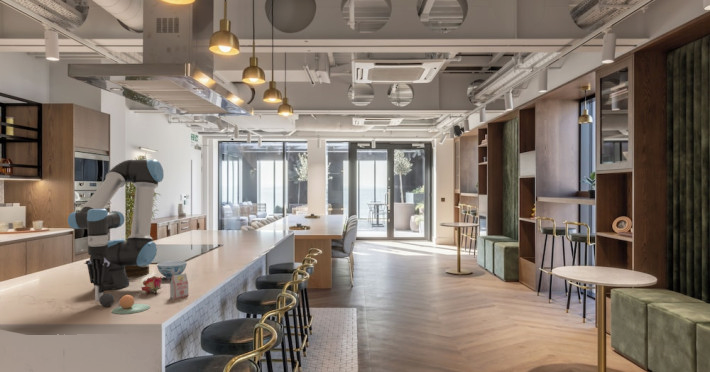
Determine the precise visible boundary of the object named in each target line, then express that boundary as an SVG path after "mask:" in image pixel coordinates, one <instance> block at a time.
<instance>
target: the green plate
mask: <svg viewBox="0 0 710 372" xmlns="http://www.w3.org/2000/svg"><path fill="white" fill-rule="evenodd" d="M150 308H151V306H150V305H149V304H147V303H146V304H145V303H134V304H133V306H132V307H130V308H128V309H125V308H122V307H121V306H119V307H118V306H117V307H116V308H113V309H112V310H111V313H112V314H115V315H131V314H137V313H142V312H144V311H146V310H148V309H150Z"/></svg>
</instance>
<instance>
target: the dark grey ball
mask: <svg viewBox="0 0 710 372" xmlns="http://www.w3.org/2000/svg"><path fill="white" fill-rule="evenodd" d="M98 302H99V304H100V305H101V306H103V307H109V306H112V304H113V303H114V302H115V296H114V295H113V294H112V293H111V292H105V293H103V295H102V296H101V297H100V300H99V301H98Z"/></svg>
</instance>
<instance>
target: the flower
mask: <svg viewBox="0 0 710 372" xmlns="http://www.w3.org/2000/svg"><path fill="white" fill-rule="evenodd" d="M161 283H162V277H161V276H156V275H153V276H151V277H148V278H147V279H146V280H143V281H142V285H143V286H141V291H144V292H145V293H147V294H150V293H153V292H154V294H158V291H159V290H161V289H162V288H163V286H162V287H161V285H162V284H161Z"/></svg>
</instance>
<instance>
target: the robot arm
mask: <svg viewBox="0 0 710 372" xmlns="http://www.w3.org/2000/svg"><path fill="white" fill-rule="evenodd" d="M163 179H164V169H163V166H162V164H161V162H160V161H159V160H158V159H150V158H148V159H127V160H124V161H121V162H119V163H118V164H116V165H115V166H113V167H112V168H111V169H109V171H108V172H107V173H106V174H105V180H103V182H101V184H100V186H99V187H97V189H96V191H94V193H93V194H92V195H91V196H90V197H89V199H88V200H87V201H86V203H85V204H84V205H83V206H82V207H81V208H80V210H79V211H75V212H74V211H73V212H71V213H70V214H68V216H67V217H68V218H67V224H68V226H69V227H70V228H71V229H74V230H87V245H88V247H87V255H89V256H90V257H89V260H86V261H85V265H86V266H87V270H88V276H89V280H90V281H89V282H90V283H91V284H93V286H94V300H95V301H96V302H100V301H99V300H100V297H101V296H102V295H103V294H104V291H112V290H118V289H122V288H127V287H128V286H129V285H130V278H129V277H128V276H127V274H126V271H125V266H143V265H149V266H150V264H152V263H153V261H154V260H155V258H156V256H157V251H158V247H157V244H156V242H154V241H153V240H154V238H153V237H152V236H151V228H152V216H153V205H154V196H155V190H156V189H157V187H158V186H159V183H161V182H162V181H163ZM127 183H128V184H129V183H132V185H133V186H134V187H135V194H134V203H133V211H132V212H133V213H132V222H131V223H132V224H131V230H130V231H131V233H130V235H129V236H128V237H127V238H126V239H127V240H125V239H124V238H119V239H112V240H109V233H108V232H109V231H108V230H111V229H118V228H120V227H121V226H122V225H124V223H125V216H124V214H123V213H122V212H121V211H118V210H117V211H116V210H114V211H113V210H112V211H108V210H107V209H106V206H107V205H108V204H109V202H110V201H111V200H112V198H114V196H115V195H116V193H117V192H118V191H119V189H120V188H122V187H124V186H125V185H126V184H127Z"/></svg>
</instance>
